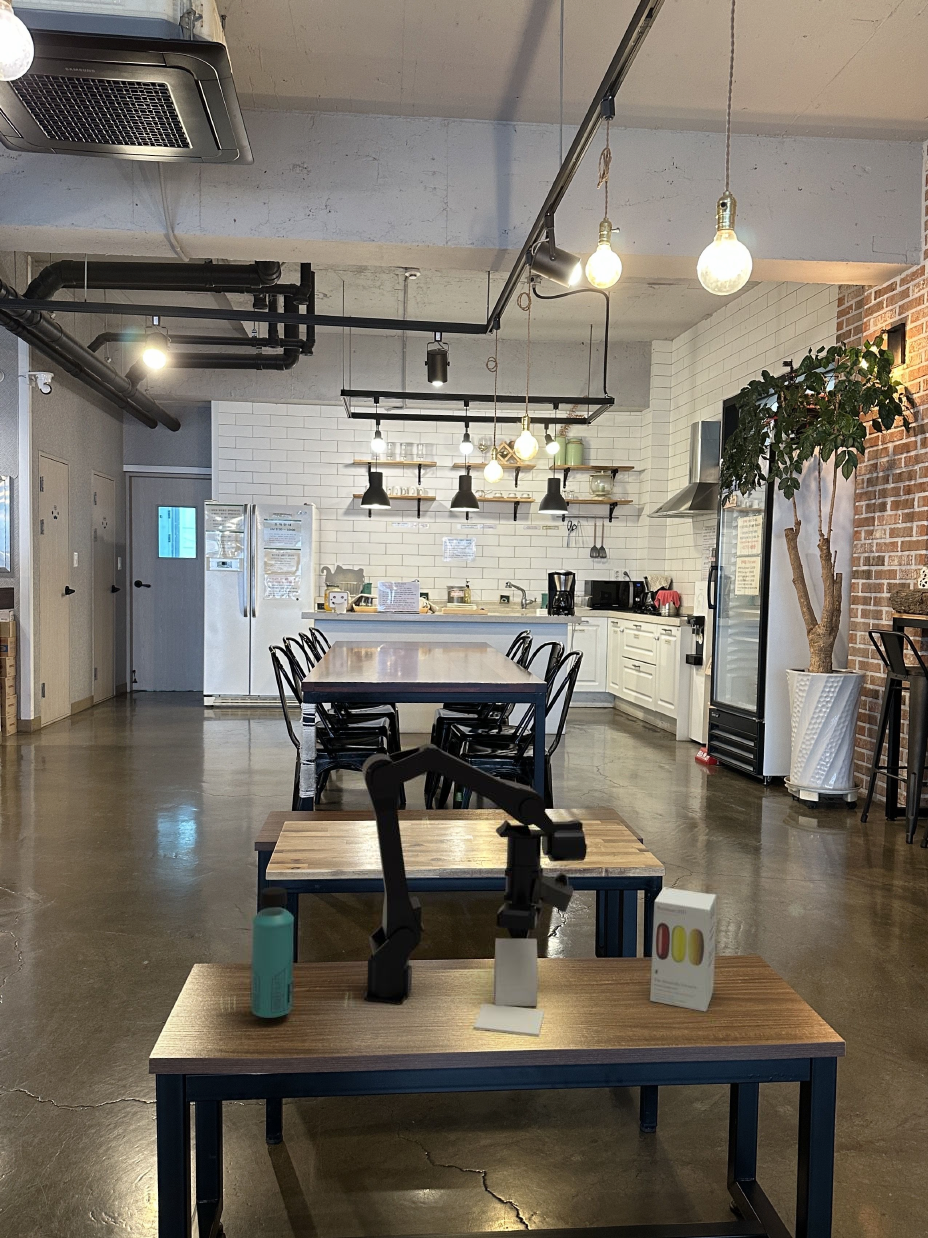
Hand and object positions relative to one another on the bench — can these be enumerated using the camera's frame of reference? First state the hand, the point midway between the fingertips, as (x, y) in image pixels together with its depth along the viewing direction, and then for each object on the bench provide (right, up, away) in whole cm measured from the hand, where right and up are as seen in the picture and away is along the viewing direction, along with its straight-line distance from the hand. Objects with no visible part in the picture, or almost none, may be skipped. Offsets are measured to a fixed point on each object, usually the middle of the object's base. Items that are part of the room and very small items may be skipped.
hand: (520, 953), depth 155 cm
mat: (-3, -6, -12) cm, 14 cm away
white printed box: (-1, -6, -6) cm, 9 cm away
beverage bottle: (-39, -5, -14) cm, 42 cm away
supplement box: (+27, -7, -1) cm, 28 cm away
